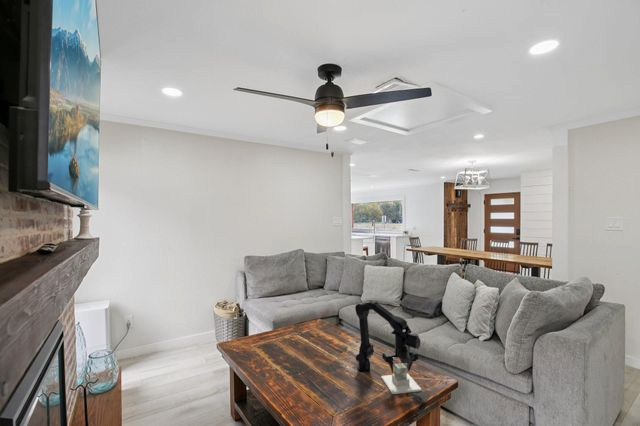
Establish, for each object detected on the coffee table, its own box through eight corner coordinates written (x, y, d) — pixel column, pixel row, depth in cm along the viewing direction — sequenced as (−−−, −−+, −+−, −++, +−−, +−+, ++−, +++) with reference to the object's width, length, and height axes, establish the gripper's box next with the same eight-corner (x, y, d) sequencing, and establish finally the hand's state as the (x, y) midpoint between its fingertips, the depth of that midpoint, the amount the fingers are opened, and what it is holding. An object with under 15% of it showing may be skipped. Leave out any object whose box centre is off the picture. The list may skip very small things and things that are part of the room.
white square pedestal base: (392, 394, 162) (392, 386, 162) (381, 377, 178) (381, 370, 178) (421, 390, 165) (421, 383, 165) (407, 375, 181) (407, 368, 181)
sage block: (397, 379, 168) (397, 368, 168) (394, 374, 173) (394, 363, 173) (406, 378, 169) (406, 367, 169) (402, 373, 174) (402, 363, 174)
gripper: (389, 351, 162) (389, 381, 162) (423, 348, 165) (423, 378, 165) (381, 342, 173) (382, 370, 173) (413, 339, 176) (414, 367, 176)
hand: (400, 371), depth 171 cm, fingers open, 9 cm apart
